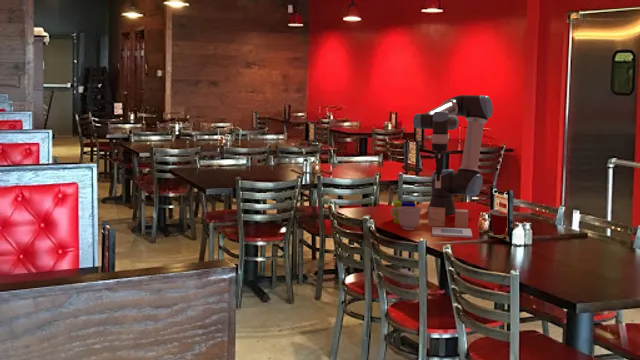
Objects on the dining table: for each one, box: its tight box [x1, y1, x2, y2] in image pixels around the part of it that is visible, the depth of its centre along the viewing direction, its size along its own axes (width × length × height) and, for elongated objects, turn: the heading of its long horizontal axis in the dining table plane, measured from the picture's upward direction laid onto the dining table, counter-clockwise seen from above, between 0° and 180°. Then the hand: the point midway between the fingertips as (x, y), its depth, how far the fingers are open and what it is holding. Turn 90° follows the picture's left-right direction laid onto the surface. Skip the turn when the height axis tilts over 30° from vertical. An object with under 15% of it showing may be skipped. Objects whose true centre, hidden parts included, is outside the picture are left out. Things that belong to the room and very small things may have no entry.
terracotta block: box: [454, 208, 469, 229], centre depth 395 cm, size 6×6×8 cm
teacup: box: [390, 206, 423, 231], centre depth 385 cm, size 12×15×10 cm
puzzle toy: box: [392, 200, 416, 224], centre depth 405 cm, size 10×10×10 cm
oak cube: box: [427, 207, 446, 227], centre depth 399 cm, size 8×8×8 cm
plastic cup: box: [488, 209, 514, 235], centre depth 369 cm, size 11×11×12 cm
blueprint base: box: [431, 226, 473, 239], centre depth 377 cm, size 18×18×1 cm
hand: (437, 186), depth 397 cm, fingers open, 13 cm apart
